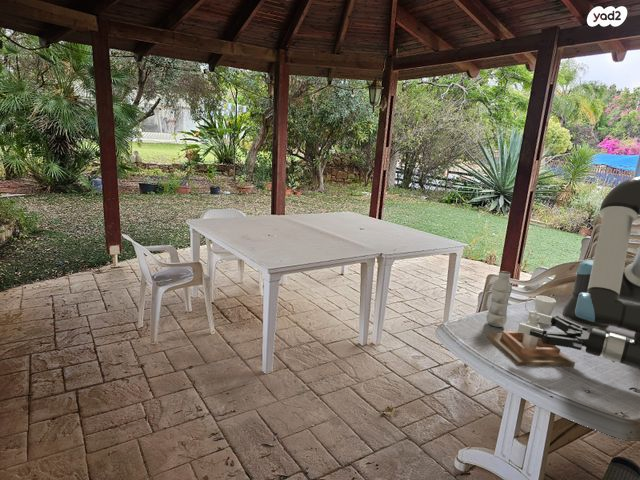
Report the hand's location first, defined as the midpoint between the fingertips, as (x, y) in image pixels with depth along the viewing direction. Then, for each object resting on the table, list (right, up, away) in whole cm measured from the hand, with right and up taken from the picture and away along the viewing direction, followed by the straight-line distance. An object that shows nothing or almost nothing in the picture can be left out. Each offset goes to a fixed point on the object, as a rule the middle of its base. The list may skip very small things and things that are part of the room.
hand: (523, 320), depth 127 cm
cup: (+20, -5, +28) cm, 35 cm away
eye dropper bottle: (+2, -9, 0) cm, 9 cm away
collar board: (+2, -10, +1) cm, 10 cm away
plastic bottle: (-1, -5, +18) cm, 19 cm away
